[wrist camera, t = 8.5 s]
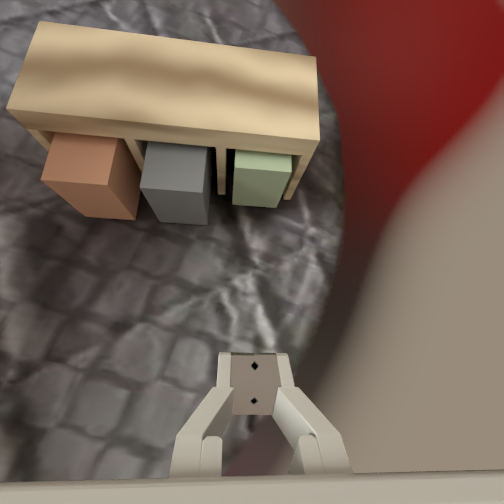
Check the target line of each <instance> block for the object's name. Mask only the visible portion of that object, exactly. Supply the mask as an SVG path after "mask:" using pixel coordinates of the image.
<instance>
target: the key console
mask: <svg viewBox="0 0 504 504" xmlns="http://www.w3.org/2000/svg"><path fill="white" fill-rule="evenodd" d="M6 109H7V110H8V111H9V112H10V113H11V114H12V115H13V116H14V117H15V118H16V119H17V120H18V121H19V122H20V123H21V124H22V125H23V126H24V127H25V128H26V130H27V131H28V132H29V133H30V134H31V135H32V136H33V137H34V138H35V139H36V140H37V141H38V142H39V143H40V144H41V145H42V146H43V147H44V148H45V149H46V150H47V151H48V152H49V150H50V147H51V143H52V140H53V137H54V134H55V132H64V133H74V134H84V135H95V136H105V137H116V138H124V139H125V141H126V143H127V145H128V147H129V149H130V151H131V153H132V155H133V157H134V159H135V161H136V162H137V164H138V166H139V168H140V170H141V172H143V166H144V160H145V155H146V149H147V144H148V141H157V142H168V143H178V144H188V145H199V146H209V147H216V156H217V179H218V194H222V195H225V190H226V176H227V162H228V148H230V149H240V150H251V151H261V152H271V153H282V154H291V166H292V173H291V175H290V177H289V180H288V182H287V184H286V187H285V189H284V191H283V199H284V200H290V199H291V197H292V195H293V193H294V191H295V189H296V187H297V185H298V183H299V181H300V179H301V177H302V175H303V173H304V171H305V169H306V167H307V165H308V163H309V161H310V159H311V157H312V155H313V153H314V151H315V149H316V147H317V145H318V143H319V142H320V131H319V111H318V91H317V71H316V57H311V56H304V55H296V54H288V53H281V52H273V51H266V50H258V49H250V48H243V47H235V46H227V45H220V44H212V43H204V42H197V41H189V40H181V39H174V38H166V37H158V36H151V35H143V34H135V33H128V32H120V31H112V30H105V29H97V28H89V27H82V26H74V25H66V24H59V23H51V22H44V21H39V23H38V26H37V29H36V31H35V34H34V36H33V39H32V42H31V44H30V47H29V50H28V52H27V55H26V57H25V60H24V63H23V65H22V68H21V70H20V73H19V76H18V78H17V81H16V83H15V86H14V89H13V91H12V94H11V97H10V99H9V102H8V104H7V107H6Z"/></svg>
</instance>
